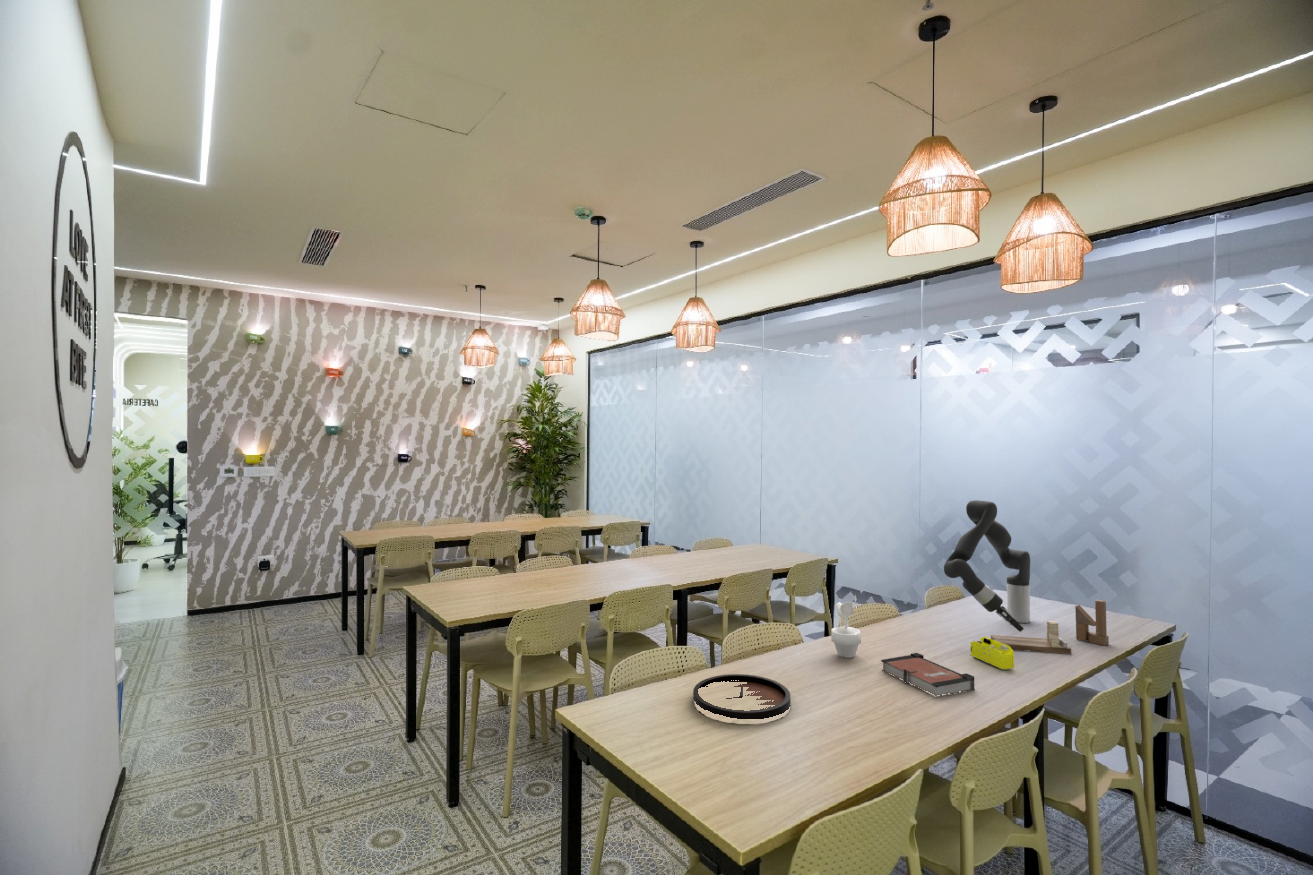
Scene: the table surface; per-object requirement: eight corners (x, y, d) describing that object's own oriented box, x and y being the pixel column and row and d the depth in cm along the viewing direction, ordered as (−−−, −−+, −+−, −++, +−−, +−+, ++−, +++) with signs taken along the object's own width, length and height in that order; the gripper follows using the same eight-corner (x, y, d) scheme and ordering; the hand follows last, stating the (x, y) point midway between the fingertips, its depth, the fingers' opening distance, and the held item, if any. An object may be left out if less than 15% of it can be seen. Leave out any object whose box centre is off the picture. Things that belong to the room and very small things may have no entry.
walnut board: (990, 639, 260) (990, 630, 260) (1060, 644, 253) (1060, 634, 253) (998, 648, 248) (998, 638, 248) (1071, 653, 241) (1071, 643, 241)
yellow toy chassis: (1015, 670, 225) (1014, 647, 225) (1002, 671, 223) (1001, 648, 224) (982, 656, 240) (981, 634, 240) (970, 657, 239) (969, 636, 239)
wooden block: (1079, 637, 261) (1078, 595, 262) (1109, 644, 252) (1107, 600, 252) (1075, 639, 259) (1074, 597, 260) (1105, 646, 250) (1104, 602, 250)
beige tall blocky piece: (1045, 641, 251) (1044, 619, 251) (1053, 642, 250) (1053, 620, 250) (1051, 646, 244) (1050, 624, 244) (1060, 647, 243) (1059, 624, 243)
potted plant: (865, 660, 236) (864, 596, 237) (835, 660, 236) (834, 596, 237) (855, 649, 249) (854, 588, 249) (827, 650, 249) (826, 588, 250)
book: (879, 672, 225) (879, 658, 225) (917, 665, 231) (917, 652, 231) (934, 699, 201) (934, 684, 201) (974, 691, 207) (974, 676, 207)
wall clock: (759, 722, 176) (673, 695, 196) (759, 736, 176) (674, 707, 196) (807, 688, 200) (726, 667, 220) (807, 700, 200) (726, 678, 220)
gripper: (998, 595, 246) (1031, 626, 242) (989, 587, 259) (1020, 616, 256) (984, 608, 247) (1016, 638, 244) (976, 599, 261) (1006, 628, 257)
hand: (1018, 627), depth 250 cm, fingers open, 8 cm apart
